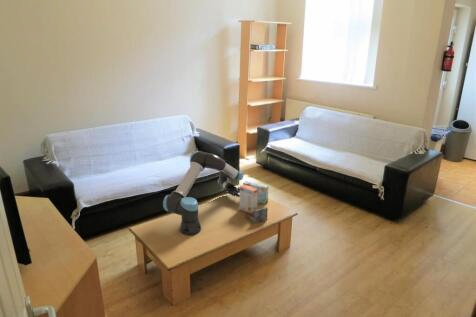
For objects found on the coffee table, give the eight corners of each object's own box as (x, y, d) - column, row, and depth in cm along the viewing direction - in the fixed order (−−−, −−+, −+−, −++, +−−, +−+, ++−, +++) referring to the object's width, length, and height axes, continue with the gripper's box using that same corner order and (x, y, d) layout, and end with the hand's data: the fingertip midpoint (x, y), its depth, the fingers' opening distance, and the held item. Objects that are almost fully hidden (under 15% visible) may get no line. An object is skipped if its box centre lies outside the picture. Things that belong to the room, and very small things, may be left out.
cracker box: (257, 213, 271) (258, 188, 264) (252, 216, 266) (252, 191, 259) (244, 207, 280) (244, 183, 273) (239, 209, 276) (239, 185, 269)
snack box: (268, 202, 289) (268, 185, 284) (265, 204, 285) (266, 187, 280) (245, 196, 298) (245, 180, 293) (242, 199, 294) (242, 182, 289)
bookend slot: (253, 223, 256) (253, 211, 252) (244, 216, 266) (244, 204, 263) (267, 219, 261) (267, 207, 258) (258, 212, 272) (258, 201, 268)
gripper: (235, 189, 303) (249, 199, 283) (222, 192, 297) (235, 203, 277) (235, 181, 300) (249, 191, 281) (222, 184, 294) (235, 194, 275)
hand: (242, 197), depth 279 cm, fingers closed
